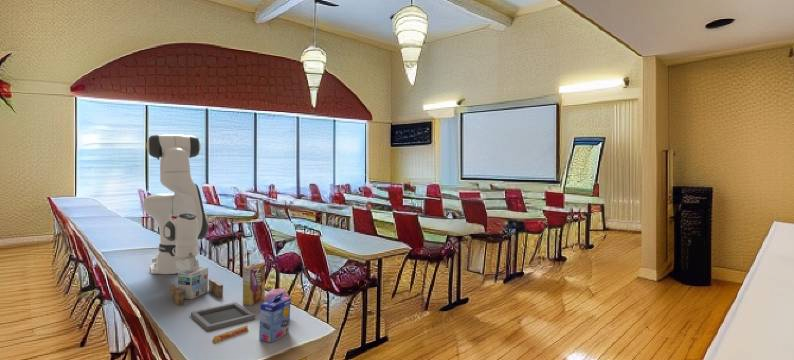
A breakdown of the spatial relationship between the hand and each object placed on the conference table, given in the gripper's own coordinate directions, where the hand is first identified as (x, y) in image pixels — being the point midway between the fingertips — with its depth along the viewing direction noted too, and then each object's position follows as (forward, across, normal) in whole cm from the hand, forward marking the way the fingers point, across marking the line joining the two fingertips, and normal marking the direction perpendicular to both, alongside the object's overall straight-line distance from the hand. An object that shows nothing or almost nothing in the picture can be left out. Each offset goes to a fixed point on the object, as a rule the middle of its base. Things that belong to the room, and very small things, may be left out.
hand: (186, 282), depth 179 cm
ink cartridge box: (+4, -66, -7) cm, 67 cm away
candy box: (+4, -31, -16) cm, 35 cm away
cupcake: (+4, -50, -16) cm, 53 cm away
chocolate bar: (+4, -57, +4) cm, 58 cm away
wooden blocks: (+3, -12, 0) cm, 13 cm away
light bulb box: (+4, -8, 0) cm, 9 cm away
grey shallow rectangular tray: (+3, -40, 0) cm, 40 cm away
